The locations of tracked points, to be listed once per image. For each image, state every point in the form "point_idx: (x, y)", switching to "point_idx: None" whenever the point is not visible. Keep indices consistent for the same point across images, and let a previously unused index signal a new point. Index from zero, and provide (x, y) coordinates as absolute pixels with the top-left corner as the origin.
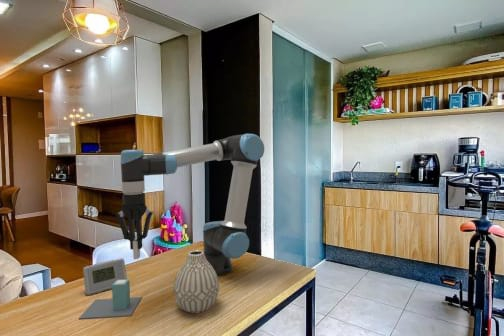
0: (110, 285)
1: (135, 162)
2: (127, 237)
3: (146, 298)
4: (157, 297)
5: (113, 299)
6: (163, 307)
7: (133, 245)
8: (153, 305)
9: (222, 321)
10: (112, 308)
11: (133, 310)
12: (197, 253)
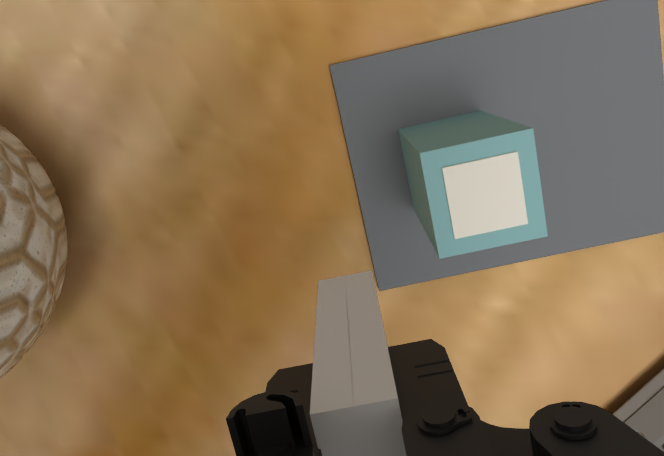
0: (661, 392)
1: None
2: (536, 437)
3: None
4: (279, 306)
5: (492, 118)
6: (178, 190)
7: (379, 358)
8: (254, 208)
9: None
10: None
11: (343, 122)
12: None
